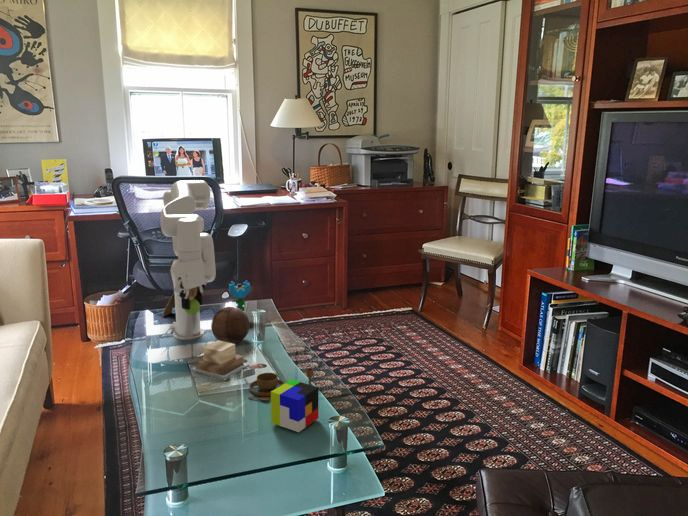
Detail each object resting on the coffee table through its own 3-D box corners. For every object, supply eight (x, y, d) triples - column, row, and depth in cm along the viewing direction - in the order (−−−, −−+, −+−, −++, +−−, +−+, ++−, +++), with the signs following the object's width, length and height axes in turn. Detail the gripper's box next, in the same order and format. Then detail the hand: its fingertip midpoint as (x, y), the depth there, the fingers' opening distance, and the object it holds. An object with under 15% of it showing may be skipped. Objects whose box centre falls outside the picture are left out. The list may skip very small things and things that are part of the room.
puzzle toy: (298, 432, 166) (298, 400, 164) (271, 422, 172) (270, 391, 169) (318, 418, 175) (318, 387, 173) (291, 409, 180) (291, 379, 178)
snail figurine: (205, 311, 202) (203, 278, 199) (194, 317, 197) (192, 283, 194) (192, 309, 204) (189, 277, 201) (181, 315, 198) (178, 282, 195)
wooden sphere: (253, 337, 241) (253, 302, 238) (244, 350, 226) (243, 314, 223) (218, 335, 242) (217, 301, 239) (206, 349, 228) (205, 312, 224)
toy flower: (251, 323, 257) (250, 284, 253) (231, 325, 255) (229, 285, 251) (250, 317, 266) (248, 279, 262) (230, 318, 264) (228, 280, 260)
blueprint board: (189, 371, 207) (189, 368, 207) (215, 357, 219) (215, 355, 219) (225, 380, 200) (225, 377, 200) (249, 366, 212) (249, 363, 212)
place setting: (261, 377, 204) (260, 361, 203) (315, 383, 199) (315, 367, 198) (240, 399, 187) (239, 382, 186) (299, 406, 183) (299, 389, 181)
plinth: (195, 369, 207) (194, 348, 205) (217, 357, 217) (216, 337, 215) (222, 376, 201) (221, 354, 200) (243, 363, 212) (243, 343, 210)
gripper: (199, 249, 204) (201, 298, 208) (162, 258, 190) (165, 311, 194) (215, 251, 201) (217, 301, 205) (179, 261, 186) (182, 315, 190)
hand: (192, 306), depth 199 cm, fingers closed on snail figurine, 5 cm apart
